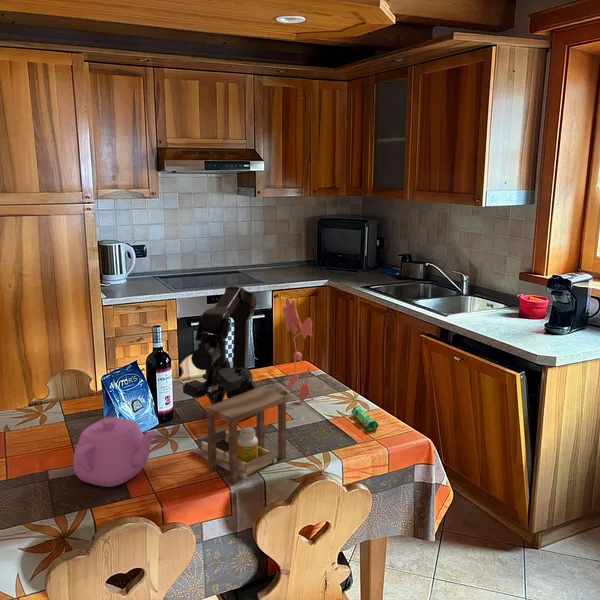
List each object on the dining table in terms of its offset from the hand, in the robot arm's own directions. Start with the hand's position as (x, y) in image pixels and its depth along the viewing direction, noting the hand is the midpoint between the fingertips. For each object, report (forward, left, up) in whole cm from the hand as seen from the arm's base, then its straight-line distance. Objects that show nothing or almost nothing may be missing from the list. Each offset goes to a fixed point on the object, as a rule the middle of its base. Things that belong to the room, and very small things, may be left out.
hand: (217, 410), depth 168 cm
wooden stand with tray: (+7, 0, -12) cm, 13 cm away
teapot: (-9, -27, -12) cm, 31 cm away
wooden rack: (+7, 0, -11) cm, 13 cm away
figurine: (-11, +41, -12) cm, 44 cm away
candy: (+20, +42, -12) cm, 48 cm away
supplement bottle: (+13, 0, -12) cm, 17 cm away
